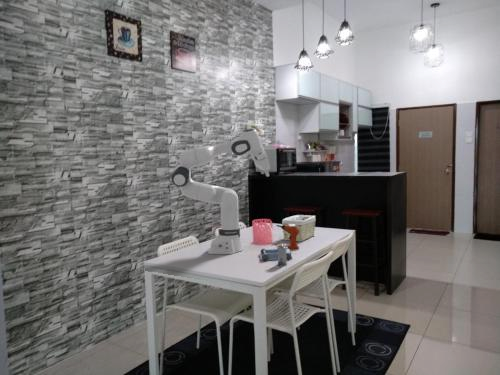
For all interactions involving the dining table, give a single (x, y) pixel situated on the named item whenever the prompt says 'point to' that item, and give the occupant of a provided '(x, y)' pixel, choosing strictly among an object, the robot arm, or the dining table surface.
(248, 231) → the dining table surface
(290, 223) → the storage basket
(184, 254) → the dining table surface
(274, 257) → the chassis
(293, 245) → the toy drill
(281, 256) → the motor
